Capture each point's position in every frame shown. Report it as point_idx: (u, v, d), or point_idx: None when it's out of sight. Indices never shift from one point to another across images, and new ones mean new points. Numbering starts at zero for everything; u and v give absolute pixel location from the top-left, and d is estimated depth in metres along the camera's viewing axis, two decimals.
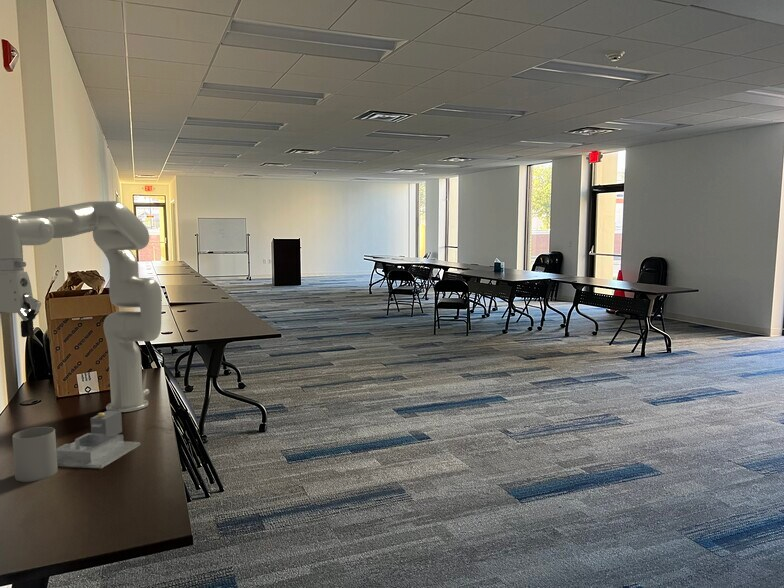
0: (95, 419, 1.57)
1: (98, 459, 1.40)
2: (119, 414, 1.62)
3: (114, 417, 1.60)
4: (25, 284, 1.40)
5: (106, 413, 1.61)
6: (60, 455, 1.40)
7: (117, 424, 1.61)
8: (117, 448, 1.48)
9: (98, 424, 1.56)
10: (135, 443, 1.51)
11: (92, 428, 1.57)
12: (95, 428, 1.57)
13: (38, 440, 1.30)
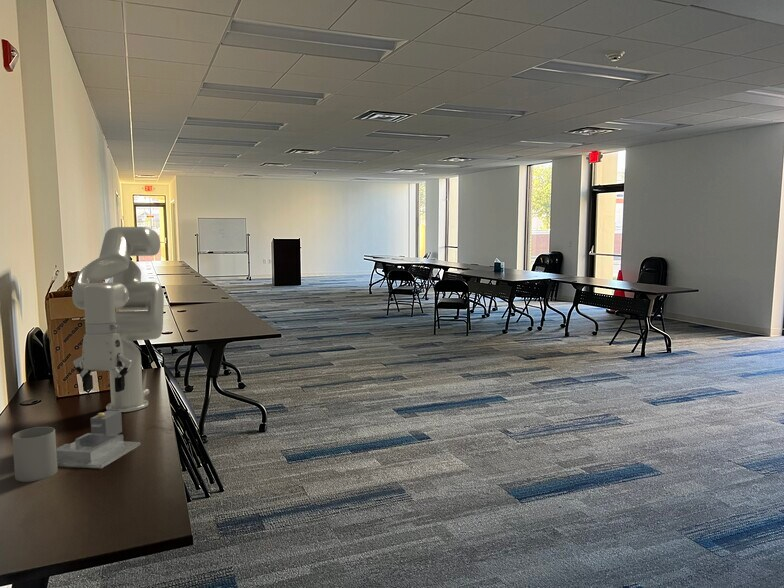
0: (95, 419, 1.57)
1: (98, 459, 1.40)
2: (119, 414, 1.62)
3: (114, 417, 1.60)
4: (118, 345, 1.58)
5: (106, 413, 1.61)
6: (60, 455, 1.40)
7: (117, 424, 1.61)
8: (117, 448, 1.48)
9: (98, 424, 1.56)
10: (135, 443, 1.51)
11: (92, 428, 1.57)
12: (95, 428, 1.57)
13: (38, 440, 1.30)
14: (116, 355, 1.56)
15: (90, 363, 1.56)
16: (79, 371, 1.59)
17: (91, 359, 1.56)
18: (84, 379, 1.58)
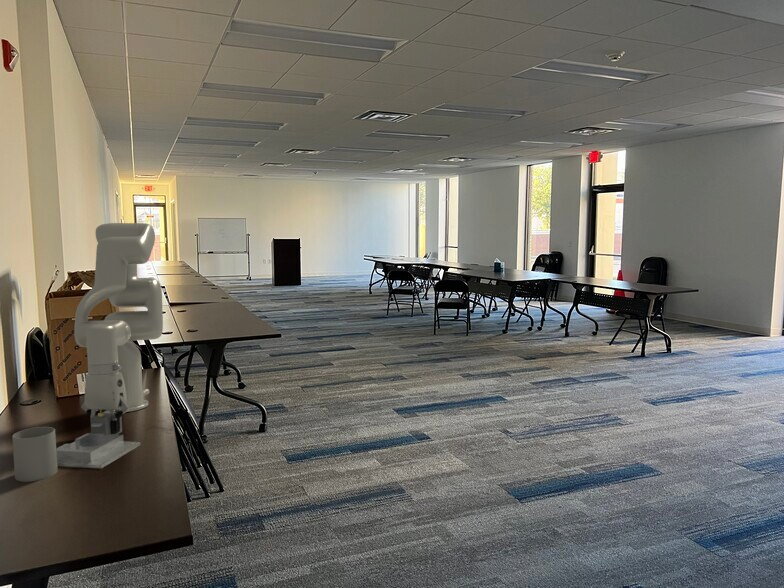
0: (95, 419, 1.57)
1: (98, 459, 1.40)
2: None
3: None
4: (120, 384, 1.59)
5: (106, 413, 1.61)
6: (60, 455, 1.40)
7: None
8: (117, 448, 1.48)
9: (98, 424, 1.56)
10: (135, 443, 1.51)
11: (92, 428, 1.57)
12: (95, 428, 1.57)
13: (38, 440, 1.30)
14: (118, 395, 1.58)
15: (93, 403, 1.58)
16: (89, 414, 1.60)
17: (94, 399, 1.57)
18: None
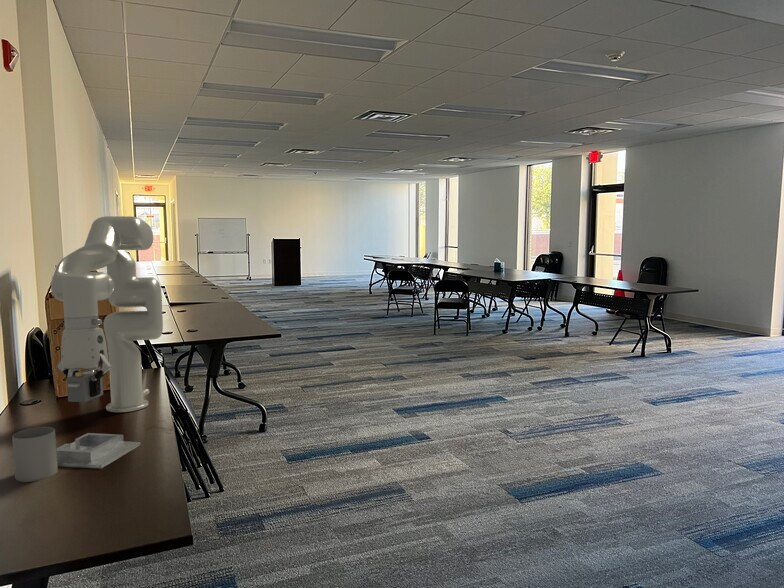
0: (72, 378, 1.41)
1: (98, 459, 1.40)
2: None
3: None
4: (101, 341, 1.43)
5: (85, 373, 1.45)
6: (60, 455, 1.40)
7: None
8: (117, 448, 1.48)
9: (75, 384, 1.40)
10: (135, 443, 1.51)
11: (69, 389, 1.41)
12: (72, 389, 1.41)
13: (38, 440, 1.30)
14: (99, 352, 1.42)
15: (70, 361, 1.42)
16: (67, 374, 1.44)
17: (71, 356, 1.41)
18: None
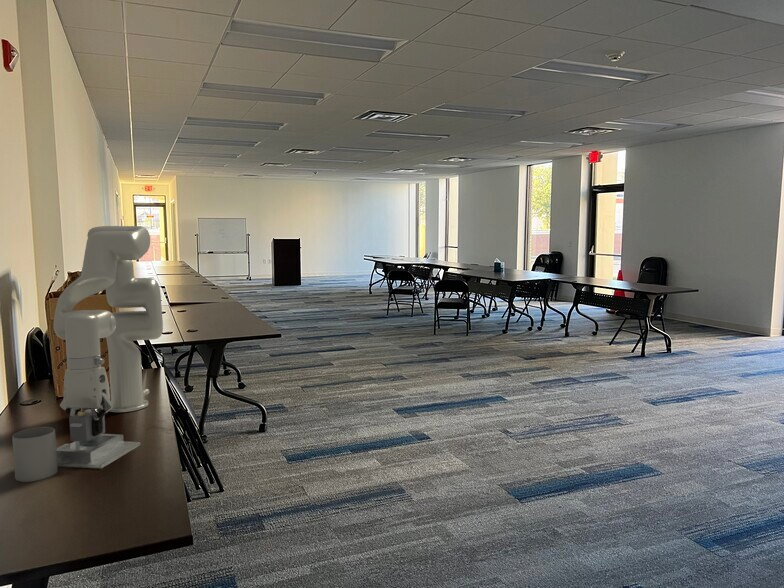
0: (75, 418, 1.41)
1: (98, 459, 1.40)
2: None
3: None
4: (103, 380, 1.44)
5: (87, 412, 1.46)
6: (60, 455, 1.40)
7: None
8: (117, 448, 1.48)
9: (78, 424, 1.41)
10: (135, 443, 1.51)
11: (71, 428, 1.42)
12: (74, 428, 1.42)
13: (38, 440, 1.30)
14: (101, 392, 1.43)
15: (72, 400, 1.43)
16: (69, 413, 1.45)
17: (73, 396, 1.42)
18: None
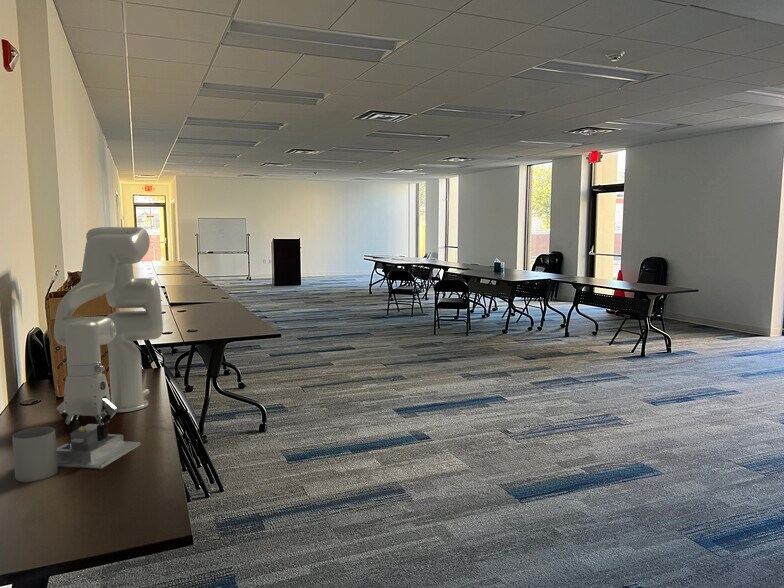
0: (76, 433, 1.42)
1: (98, 459, 1.40)
2: None
3: None
4: (103, 387, 1.45)
5: (88, 426, 1.47)
6: (60, 455, 1.40)
7: None
8: (117, 448, 1.48)
9: (79, 439, 1.41)
10: (135, 443, 1.51)
11: (72, 443, 1.42)
12: (76, 443, 1.42)
13: (38, 440, 1.30)
14: (101, 399, 1.43)
15: (73, 407, 1.43)
16: (65, 417, 1.45)
17: (74, 403, 1.43)
18: (70, 426, 1.44)
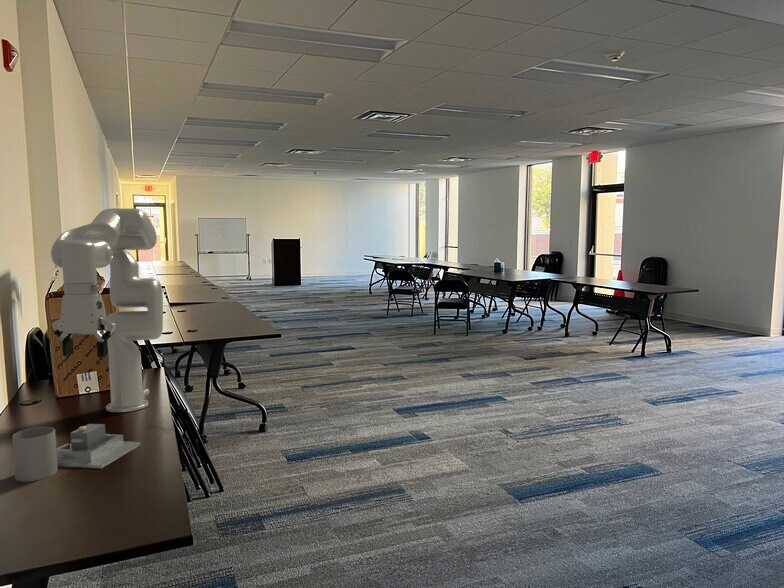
0: (76, 433, 1.42)
1: (98, 459, 1.40)
2: (103, 427, 1.48)
3: (97, 431, 1.45)
4: (100, 306, 1.46)
5: (88, 426, 1.47)
6: (60, 455, 1.40)
7: (100, 438, 1.47)
8: (117, 448, 1.48)
9: (79, 439, 1.41)
10: (135, 443, 1.51)
11: (72, 443, 1.42)
12: (76, 443, 1.42)
13: (38, 440, 1.30)
14: (98, 318, 1.45)
15: (70, 326, 1.45)
16: (58, 334, 1.47)
17: (71, 322, 1.45)
18: (64, 343, 1.46)
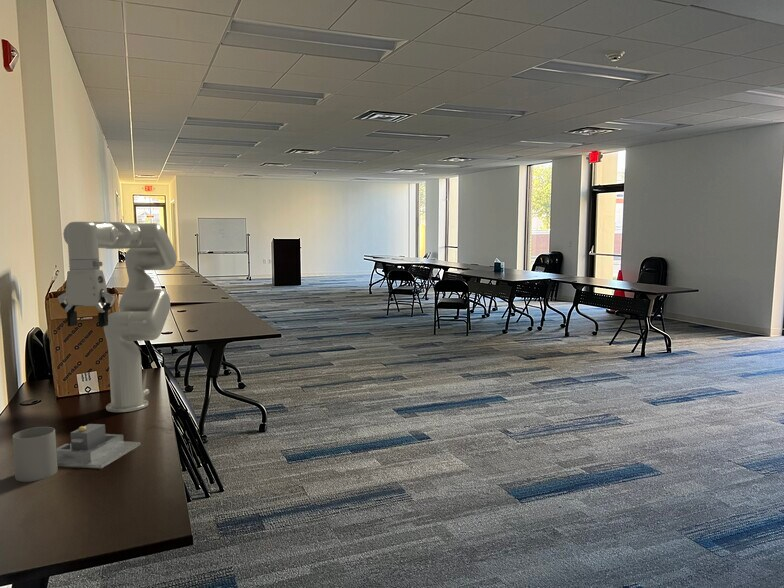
0: (76, 433, 1.42)
1: (98, 459, 1.40)
2: (103, 427, 1.48)
3: (97, 431, 1.45)
4: (101, 281, 1.62)
5: (88, 426, 1.47)
6: (60, 455, 1.40)
7: (100, 438, 1.47)
8: (117, 448, 1.48)
9: (79, 439, 1.41)
10: (135, 443, 1.51)
11: (72, 443, 1.42)
12: (76, 443, 1.42)
13: (38, 440, 1.30)
14: (99, 291, 1.60)
15: (74, 298, 1.60)
16: (63, 307, 1.62)
17: (75, 294, 1.60)
18: (68, 314, 1.62)
